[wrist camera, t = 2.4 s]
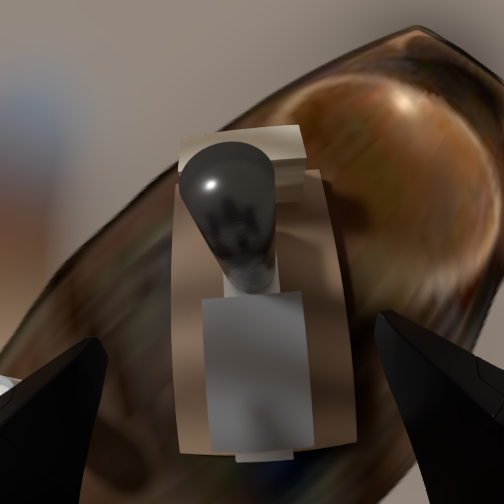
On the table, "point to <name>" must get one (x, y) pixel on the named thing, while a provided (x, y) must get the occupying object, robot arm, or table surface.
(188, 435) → the base
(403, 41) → the table surface
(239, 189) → the dark knobbed lever handle
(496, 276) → the table surface
